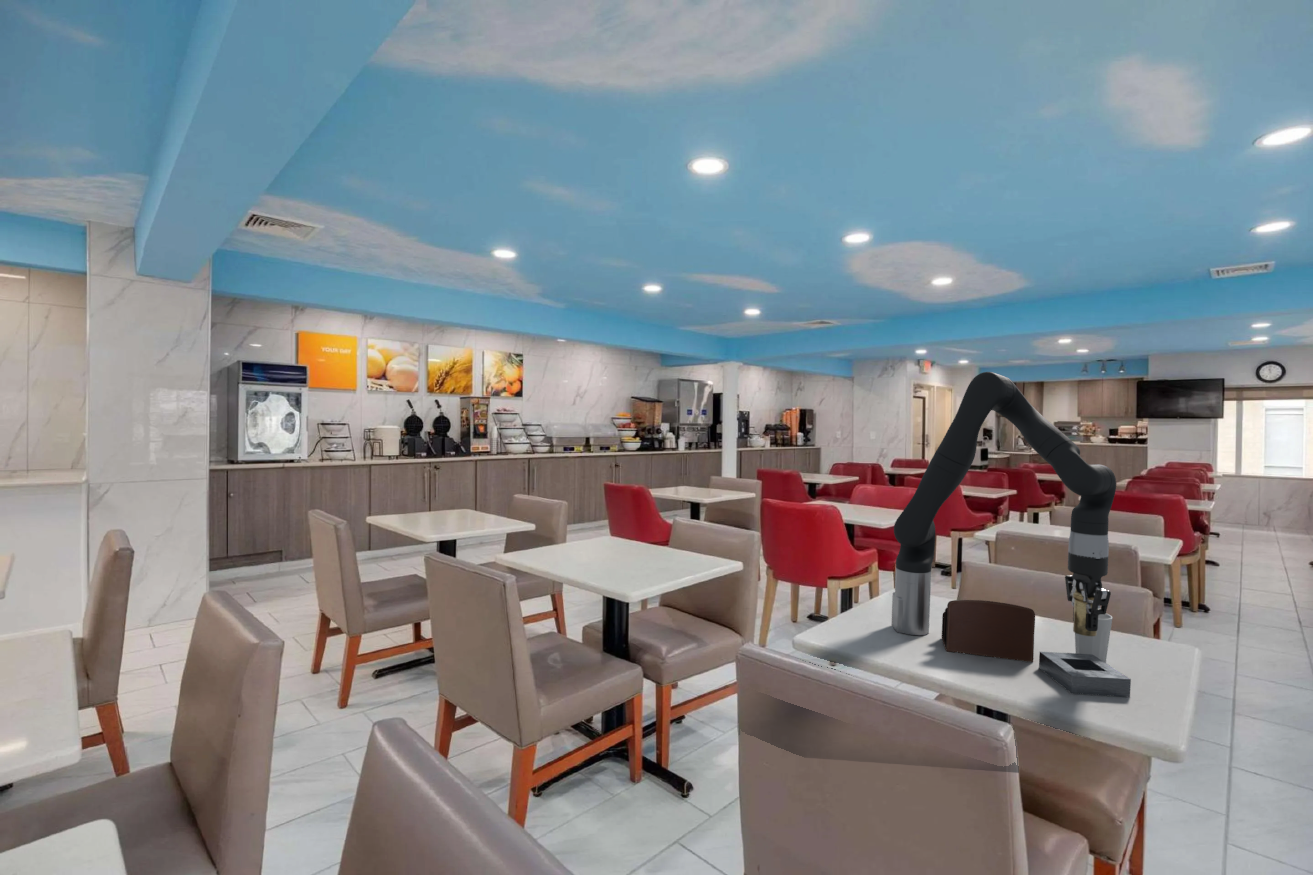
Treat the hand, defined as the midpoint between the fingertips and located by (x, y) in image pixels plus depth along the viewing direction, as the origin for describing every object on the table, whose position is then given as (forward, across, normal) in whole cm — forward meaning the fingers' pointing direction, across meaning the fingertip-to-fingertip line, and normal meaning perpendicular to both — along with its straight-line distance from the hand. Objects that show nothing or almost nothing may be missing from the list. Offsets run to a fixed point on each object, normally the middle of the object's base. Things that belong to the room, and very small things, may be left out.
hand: (1085, 626), depth 144 cm
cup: (+13, -13, +9) cm, 20 cm away
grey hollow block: (+13, 0, 0) cm, 13 cm away
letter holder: (+13, -17, -14) cm, 26 cm away
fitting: (+1, 0, 0) cm, 1 cm away
